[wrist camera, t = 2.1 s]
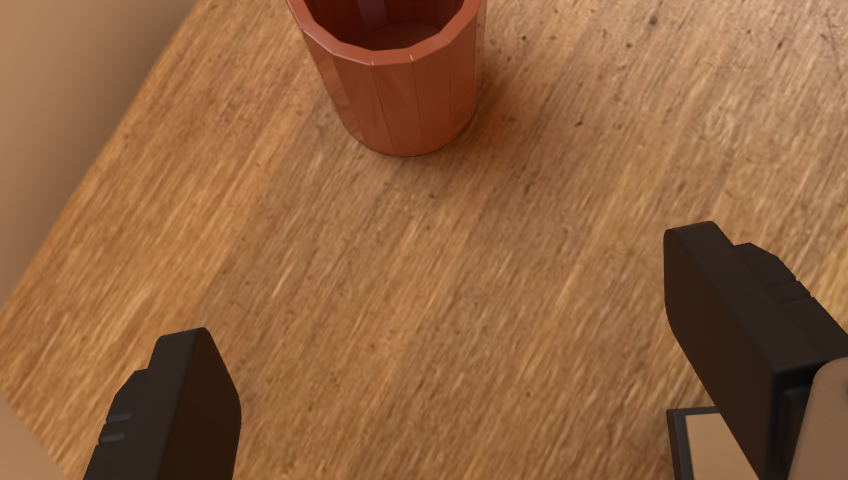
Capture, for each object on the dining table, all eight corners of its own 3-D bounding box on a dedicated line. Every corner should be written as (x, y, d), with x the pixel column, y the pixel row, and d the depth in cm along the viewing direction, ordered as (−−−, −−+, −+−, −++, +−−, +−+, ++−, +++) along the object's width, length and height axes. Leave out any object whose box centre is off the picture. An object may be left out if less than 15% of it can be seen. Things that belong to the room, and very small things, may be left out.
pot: (336, 162, 30) (287, 73, 22) (329, 25, 32) (279, -113, 23) (485, 150, 30) (496, 55, 21) (472, 12, 31) (478, -132, 23)
